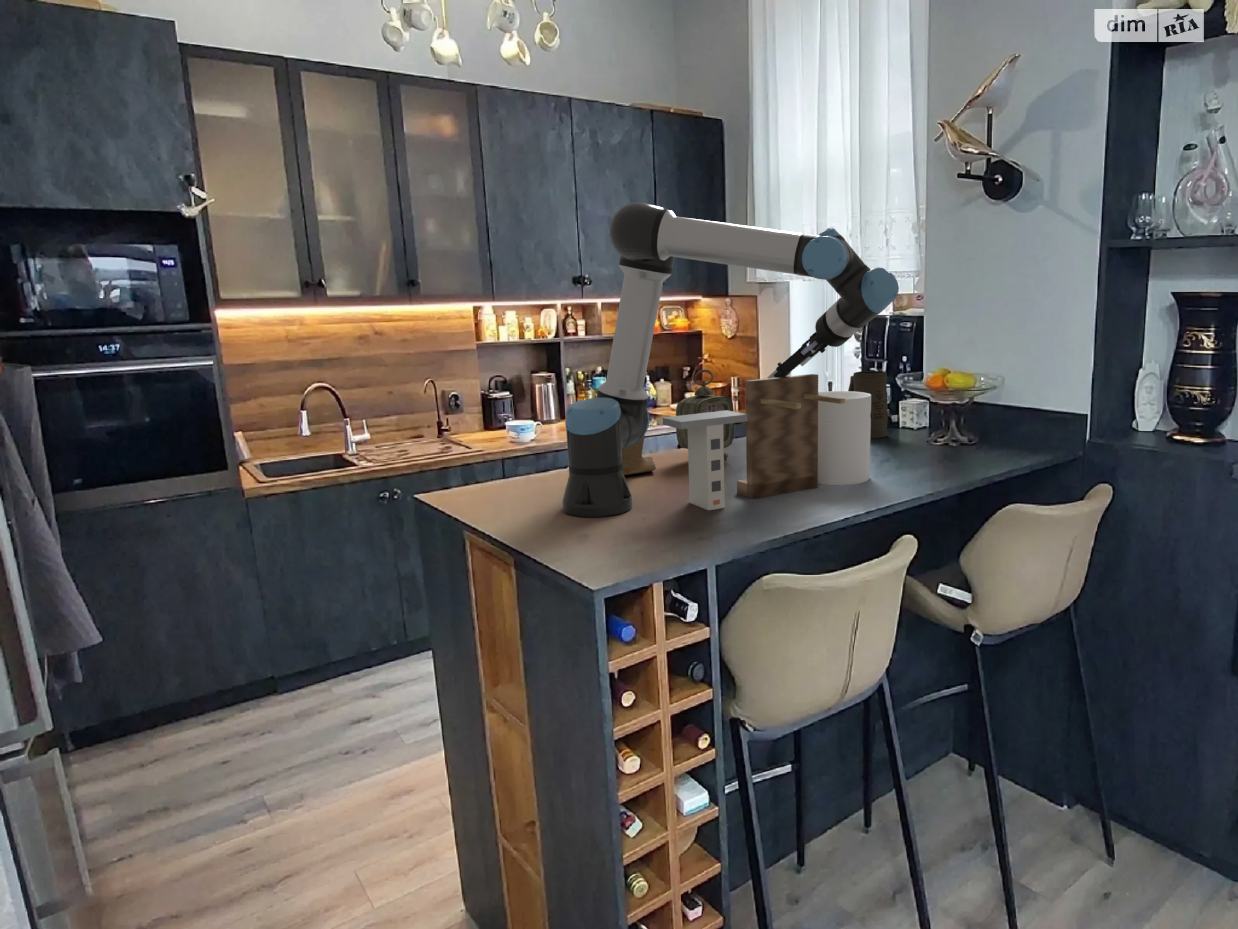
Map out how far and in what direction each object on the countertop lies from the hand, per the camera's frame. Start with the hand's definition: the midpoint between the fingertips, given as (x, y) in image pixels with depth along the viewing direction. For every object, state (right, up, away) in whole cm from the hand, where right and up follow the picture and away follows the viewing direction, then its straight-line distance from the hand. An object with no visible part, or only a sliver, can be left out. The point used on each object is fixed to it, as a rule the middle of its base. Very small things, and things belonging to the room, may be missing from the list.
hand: (785, 371), depth 187 cm
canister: (+13, -25, +7) cm, 29 cm away
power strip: (-20, -30, -13) cm, 39 cm away
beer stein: (+37, -13, +62) cm, 73 cm away
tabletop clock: (-15, -21, +33) cm, 42 cm away
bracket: (0, -29, -8) cm, 30 cm away
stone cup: (-36, -24, +21) cm, 48 cm away
